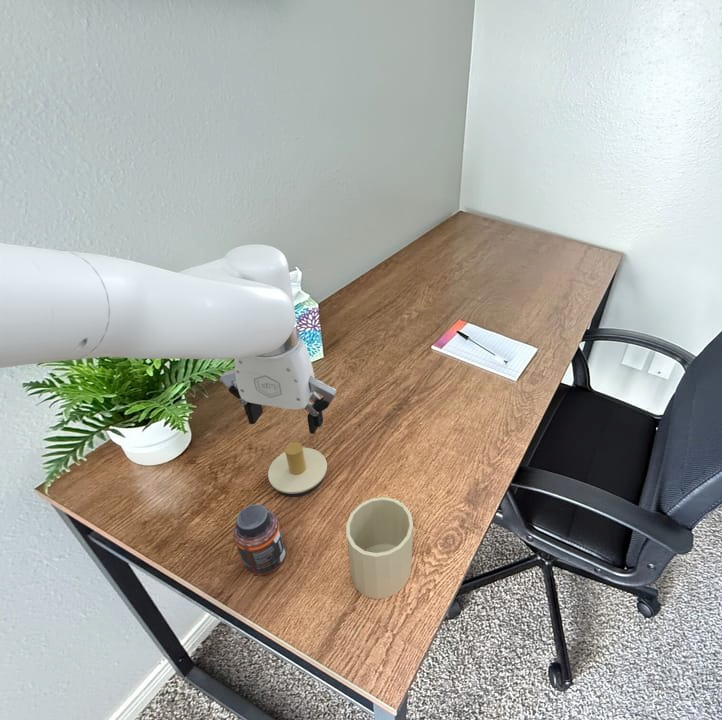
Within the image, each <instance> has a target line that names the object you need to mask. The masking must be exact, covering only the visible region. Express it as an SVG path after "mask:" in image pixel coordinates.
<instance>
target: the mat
mask: <svg viewBox="0 0 722 720" xmlns="http://www.w3.org/2000/svg"><path fill="white" fill-rule="evenodd" d="M325 476H326V475H325ZM325 476H324V478H323V479H322V480H321V482H320V483H319V484H317V485H316V486H315V487H313V488H312V489H310V490H307V491H305V492H301V493H296V494H288V493H283V492H280V491H278V490H276V489H275V488H274V487H273V489H274V490H275V491H276V492H277V493H278V494H279V495H282V496H284V497H288V498H298V497H299V498H300V497H303V496H307V495H309V494H310V493H312V492H314V491H315V490H317V489H318V488H319V487H320V486H321V484H322V483H323V481H324V480H325Z"/></svg>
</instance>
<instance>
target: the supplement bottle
mask: <svg viewBox="0 0 722 720" xmlns="http://www.w3.org/2000/svg"><path fill="white" fill-rule="evenodd" d="M232 531H233V532H232V536H233V541H234V543H235V545H236V548H237V550H238V552H239V555H240V557H241V560H242V563H243V564H244V567H245V568H246V570H247V572H248V573H250V574H251V575H254V576H259V577H261V576H262V577H263V576H266V575H267V576H268V575H270V574H272V573H274V572H275V571H277V570H278V569H279V568H281V566H282V565H283V563H284V562H285V560H286V557H287V547H286V543H285V540H284V536H283V533H282V529H281V526H280V523H279V519H278V517H277V515H276V514H275V513H273V511H271V510H269V509H267V508H266V507H265V506H264V505H262V504H256V503H255V504H250V505H248V506H246V507H244V508H242V509H241V510H240V511H239V513H238V514H237V516H236V523H235V524H234V526H233V530H232Z"/></svg>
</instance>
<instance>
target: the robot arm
mask: <svg viewBox="0 0 722 720" xmlns="http://www.w3.org/2000/svg"><path fill="white" fill-rule="evenodd" d="M298 329H299V328H298V323H297V315H296V308H295V302H294V295H293V289H292V282H291V276H290V269H289V263H288V260H287V257H286V256H285V254H284V253H283V252H282V251H281V250H279V248H276V247H275V246H271V245H267V244H260V243H257V244H255V243H254V244H244V245H240V246H236V247H233V248H231V249H230V250H229V251H227V252H226V253H225V255H224V256H223V257H221V258H219V259H215V260H212V261H209V262H206V263H202V264H199V265H195V266H192V267H188V268H185V269H182V270H181V271H179V272H176V271H172V270H169V269H165V268H162V267H157V266H154V265H150V264H146V263H143V262H138V261H135V260H129V259H125V258H121V257H116V256H115V257H114V256H111V255H105V254H99V253H93V252H92V253H91V252H82V251H73V250H65V249H64V250H63V249H53V248H52V249H51V248H46V247H44V248H43V247H36V246H28V245H20V244H11V243H3V242H0V369H3V368H13V367H17V366H27V365H35V364H36V365H38V364H45V363H54V362H55V363H56V362H64V361H76V360H85V359H86V360H87V359H95V358H97V359H98V358H123V359H124V358H126V359H141V360H142V359H143V360H145V359H146V360H160V359H161V360H164V359H166V360H169V359H170V360H171V359H173V360H174V359H175V360H176V359H178V360H233V359H234V360H233V361H234V362H233V363H234V369H230V370H226V371H224V372H223V374H222V375H220V377H219V380H220V381H221V382H222V384H223V385H225V387H226V388H228V392H229V393H230V394H232V395H233V396H234V397H235V398H237V399H238V403H239V404H240V405H241V406H243V408H244V412H245V415H246V417H247V420H248V423H249V425H255V424H256V423H257V421H258V420H259V419H260V417H261V416H262V414H263V413H264V409H263V406H266V407H267V406H268V407H272V408H279V409H286V410H293V411H294V410H295V411H299V410H303V409H304V410H305V411H307V416H306V419H307V425H308V431H309V433H310V434H311V435H315V434H316V432H317V430H318V429H319V428H321V427H322V425H323V423H324V414H323V411H324V410H326V409H328V408H329V406H330V405H331V403H332V401H333V400H334V399H335V397H336V395H337V393H338V390H337V389H335V388H334V387H332V386H330V385H329V384H326V383H324V382H323V381H321V380H319V379H317V378H315V371H314V368H313V364H312V359H311V357H310V354H309V351H308V348H307V346H306V343H305V342H304V340H303V339H302V338H300V337H299V330H298ZM320 395H321V396H322V397H320ZM310 400H311V402H312V403H311V402H310Z"/></svg>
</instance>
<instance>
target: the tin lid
mask: <svg viewBox="0 0 722 720" xmlns="http://www.w3.org/2000/svg"><path fill="white" fill-rule="evenodd" d="M327 471H328V463H327V460H326V457H325V456H324V454H323V453H322V452H320V451H319V450H317V449H314V448H311V447H303V445H302V443H300V442H297V441H293V442H290V443H288V444H287V445H286V446H285V448H284V452H282V453H281V454H280V455H278V456H277V457H275V458H274V459H273V461H272V462H271V464H270V466H269V468H268V471H267V477H268V481H269V483H270V485H271V486H272V488H273V489H274V488H275V489H276V490H278V491H280V492H283V493H288V494H296V493H301V492H305V491H307V490H310V489H312V488H313V487H315V486H316V485H317V484H319V483H320V482H321V480H322V479H323V478H324V479H325V477H324V476H326V474H327ZM275 489H274V490H275ZM276 490H275V491H276Z"/></svg>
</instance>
